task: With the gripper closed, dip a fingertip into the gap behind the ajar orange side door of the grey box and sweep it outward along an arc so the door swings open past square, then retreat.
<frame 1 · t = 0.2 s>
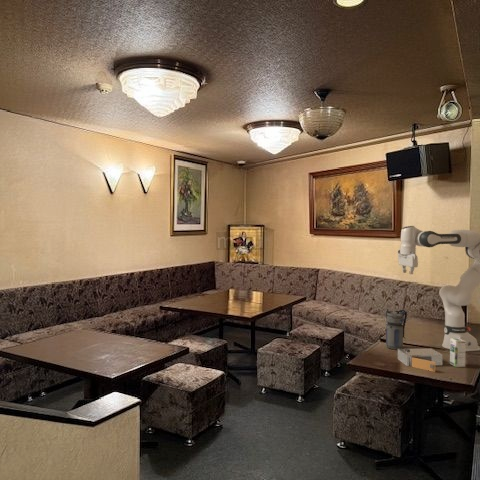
hand: (407, 273, 257), 48 cm above the table, fingers open, 8 cm apart
syrup box: (457, 365, 225), on the table
side door: (422, 364, 219), point 3 cm above the table, hinge at 45.0°
beverage bottle: (395, 348, 259), on the table
grey box: (419, 362, 231), on the table
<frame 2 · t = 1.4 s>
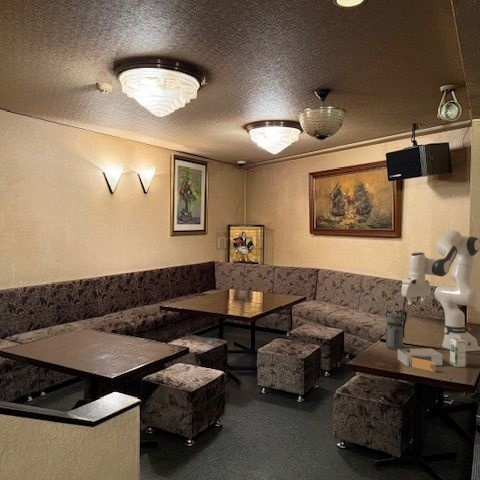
hand: (416, 304, 237), 32 cm above the table, fingers open, 8 cm apart
nothing on the table moved.
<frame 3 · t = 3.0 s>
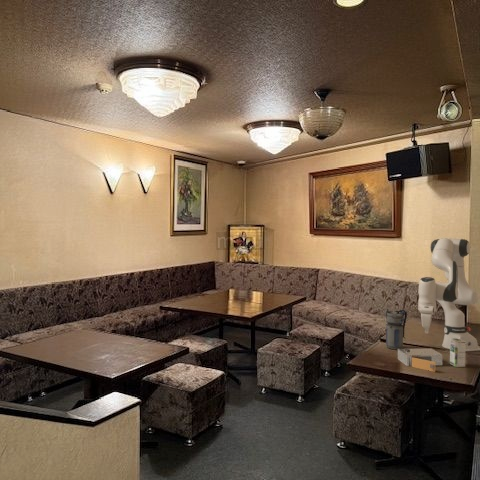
hand: (426, 332, 221), 19 cm above the table, fingers closed
nothing on the table moved.
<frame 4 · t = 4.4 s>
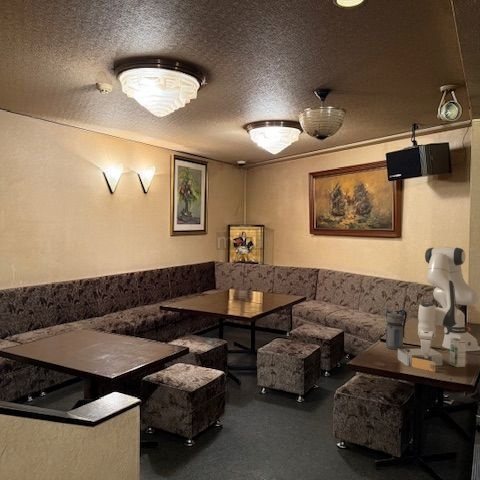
hand: (426, 357, 221), 5 cm above the table, fingers closed
nothing on the table moved.
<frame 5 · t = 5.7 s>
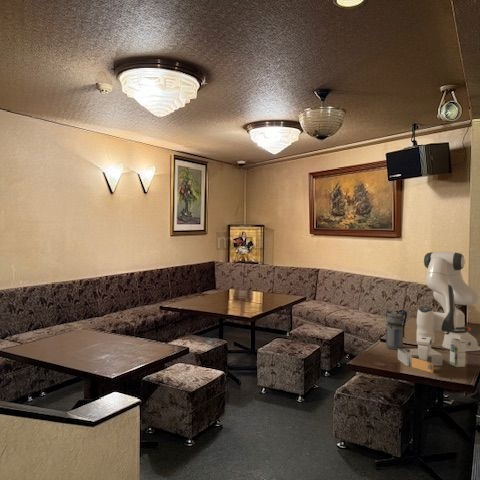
hand: (425, 363, 218), 3 cm above the table, fingers closed, pressing on side door
side door: (420, 364, 218), point 3 cm above the table, hinge at 56.2°, touching gripper
everything else where it was.
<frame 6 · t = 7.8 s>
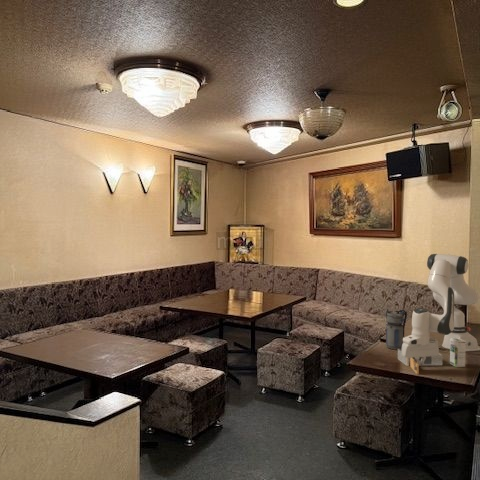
hand: (420, 364, 218), 3 cm above the table, fingers closed
side door: (413, 365, 218), point 3 cm above the table, hinge at 99.3°
everything else where it was.
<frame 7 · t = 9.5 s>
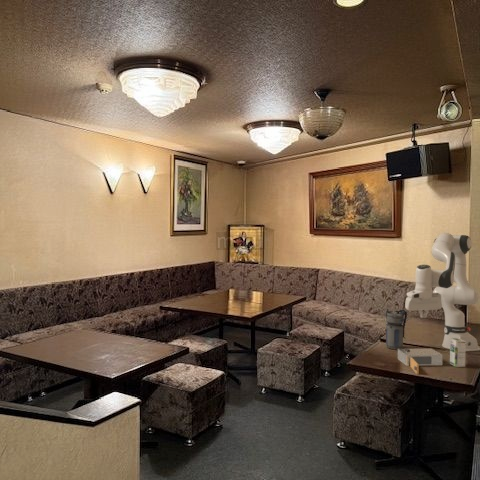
hand: (423, 317, 232), 25 cm above the table, fingers closed
nothing on the table moved.
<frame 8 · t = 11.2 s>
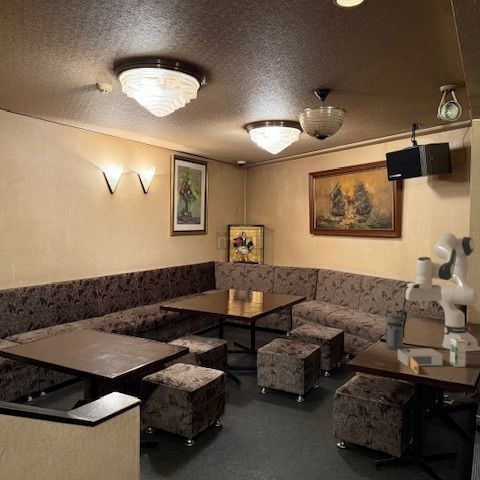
hand: (423, 308, 238), 29 cm above the table, fingers closed
nothing on the table moved.
at the end: side door at +99° (first picture: +45°) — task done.
